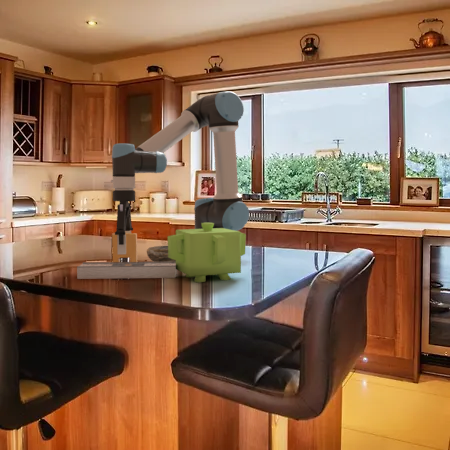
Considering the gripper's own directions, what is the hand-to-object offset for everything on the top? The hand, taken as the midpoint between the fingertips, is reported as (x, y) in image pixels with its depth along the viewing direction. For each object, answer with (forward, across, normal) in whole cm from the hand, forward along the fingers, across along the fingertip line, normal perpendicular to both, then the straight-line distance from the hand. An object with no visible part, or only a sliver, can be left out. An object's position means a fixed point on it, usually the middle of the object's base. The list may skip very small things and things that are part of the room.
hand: (124, 251), depth 165 cm
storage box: (+6, +18, +28) cm, 34 cm away
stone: (+6, -11, +13) cm, 18 cm away
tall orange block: (+6, 0, 0) cm, 6 cm away
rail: (+6, +14, +3) cm, 15 cm away
